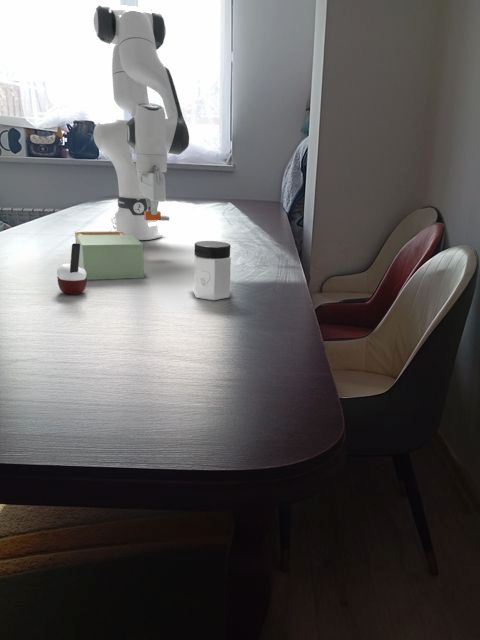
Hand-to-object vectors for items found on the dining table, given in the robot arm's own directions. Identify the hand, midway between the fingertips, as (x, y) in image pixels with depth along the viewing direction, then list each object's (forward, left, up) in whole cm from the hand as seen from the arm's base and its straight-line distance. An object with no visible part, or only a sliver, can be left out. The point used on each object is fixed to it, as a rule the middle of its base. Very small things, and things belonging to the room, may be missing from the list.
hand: (152, 213), depth 154 cm
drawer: (+6, -16, -12) cm, 21 cm away
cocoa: (+39, -27, -13) cm, 49 cm away
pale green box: (+20, -16, -13) cm, 29 cm away
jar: (+47, +3, -13) cm, 49 cm away
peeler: (0, +1, -2) cm, 2 cm away
